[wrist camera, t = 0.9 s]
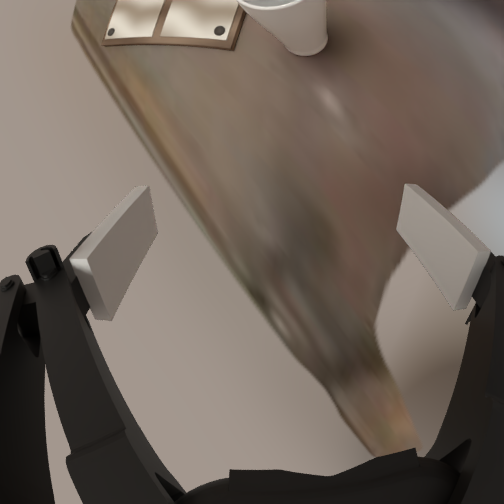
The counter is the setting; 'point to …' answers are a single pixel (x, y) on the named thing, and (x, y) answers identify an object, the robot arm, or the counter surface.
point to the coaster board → (175, 23)
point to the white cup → (292, 22)
